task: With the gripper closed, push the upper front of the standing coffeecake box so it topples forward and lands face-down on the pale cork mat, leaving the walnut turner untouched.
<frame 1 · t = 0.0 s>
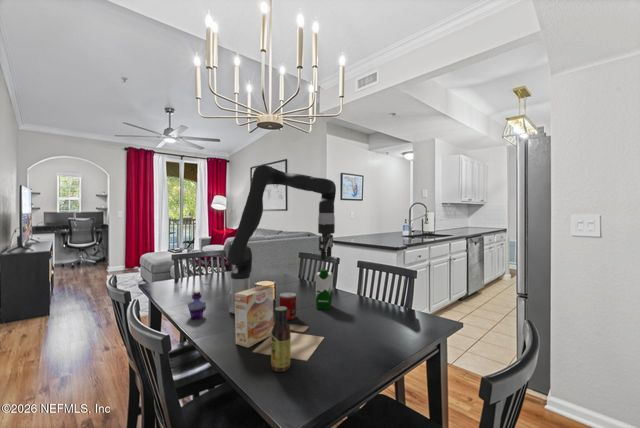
hand: (326, 258, 141), 29 cm above the table, fingers open, 8 cm apart
sauce bottle: (280, 368, 100), on the table
coffeecake box: (255, 339, 122), on the table, touching cork mat
walnut turner: (285, 327, 134), on the table
cork mat: (290, 344, 117), on the table
canned food: (287, 317, 147), on the table
potion bottle: (196, 317, 146), on the table
milk carton: (324, 307, 162), on the table
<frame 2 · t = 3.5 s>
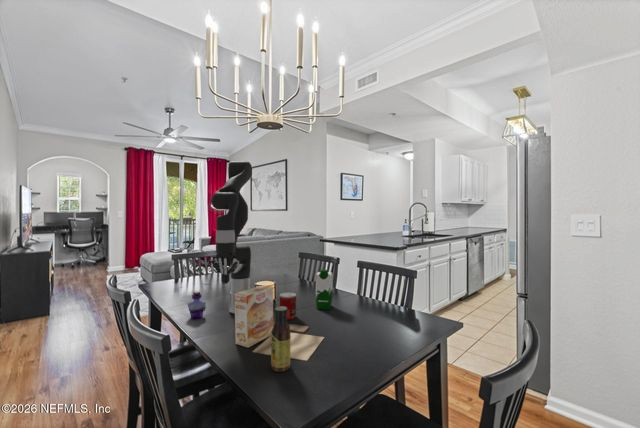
hand: (225, 283, 126), 21 cm above the table, fingers closed
nothing on the table moved.
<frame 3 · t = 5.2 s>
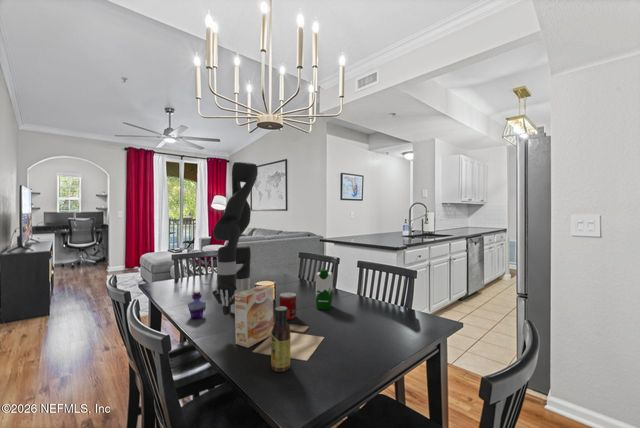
hand: (226, 314, 126), 9 cm above the table, fingers closed
nothing on the table moved.
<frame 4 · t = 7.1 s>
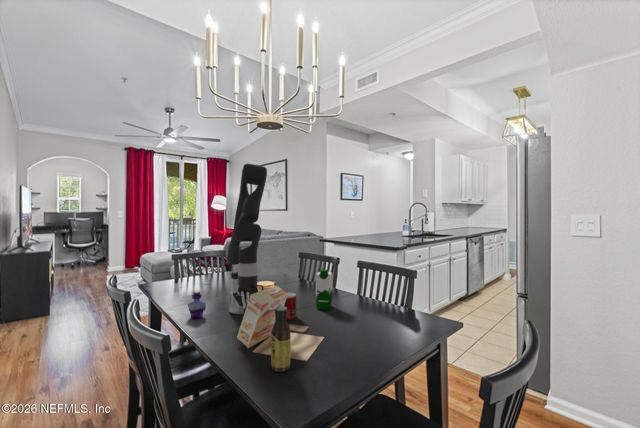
hand: (247, 316, 123), 9 cm above the table, fingers closed
coffeecake box: (255, 336, 122), point 1 cm above the table, touching cork mat
everything else where it was.
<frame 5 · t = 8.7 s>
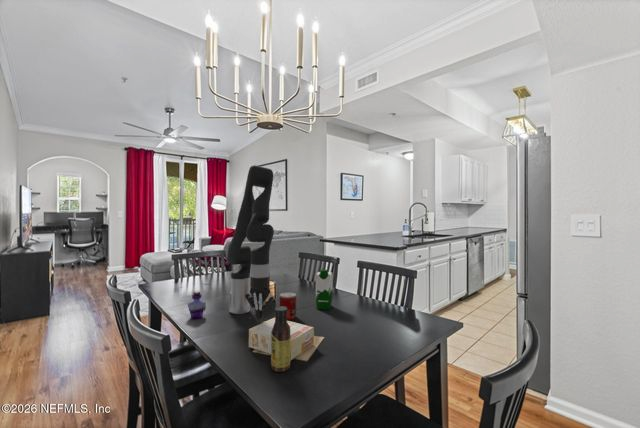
hand: (260, 318, 121), 9 cm above the table, fingers closed
coffeecake box: (261, 331, 120), point 4 cm above the table, touching cork mat
everything else where it was.
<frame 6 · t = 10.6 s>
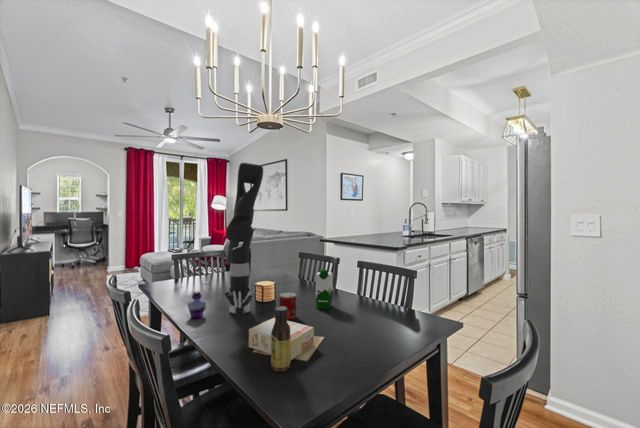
hand: (239, 316, 124), 8 cm above the table, fingers closed
nothing on the table moved.
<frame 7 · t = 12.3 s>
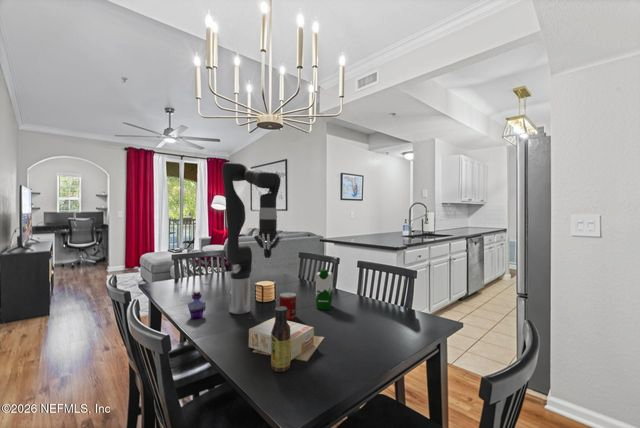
hand: (267, 257, 135), 30 cm above the table, fingers closed
nothing on the table moved.
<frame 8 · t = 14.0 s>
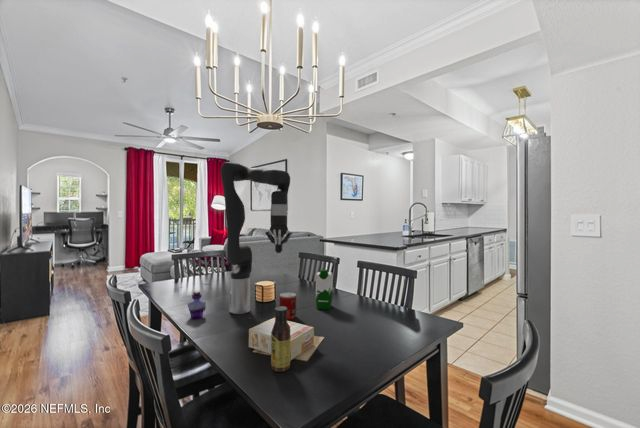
hand: (278, 252, 139), 32 cm above the table, fingers closed
nothing on the table moved.
at the end: coffeecake box tilted 90°; coffeecake box inside the target area (4.9 cm from its centre), point 3.8 cm above the table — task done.
